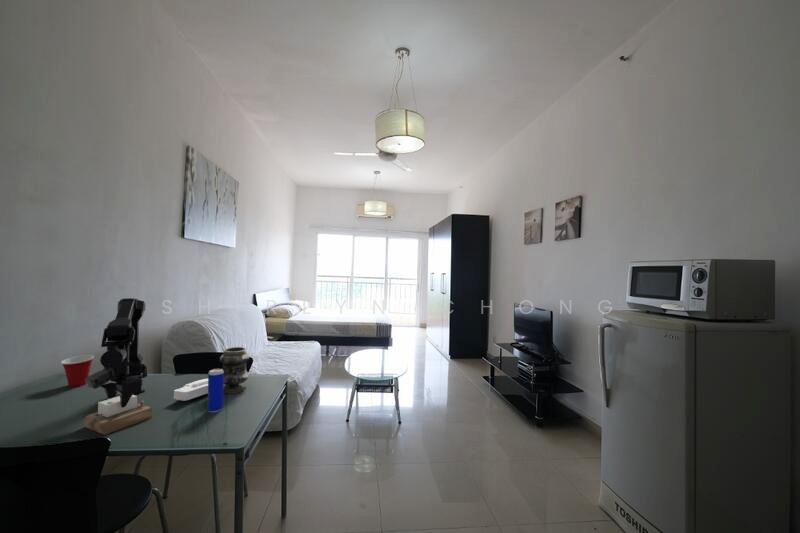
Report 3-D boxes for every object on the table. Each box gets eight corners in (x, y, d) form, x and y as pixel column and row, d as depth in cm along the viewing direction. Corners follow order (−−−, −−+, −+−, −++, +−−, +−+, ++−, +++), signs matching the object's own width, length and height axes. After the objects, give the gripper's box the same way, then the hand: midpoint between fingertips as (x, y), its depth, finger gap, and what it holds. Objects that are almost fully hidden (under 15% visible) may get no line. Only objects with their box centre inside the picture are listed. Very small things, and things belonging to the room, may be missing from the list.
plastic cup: (53, 387, 148) (54, 360, 148) (82, 379, 159) (83, 354, 159) (71, 390, 145) (71, 362, 145) (99, 382, 156) (100, 356, 156)
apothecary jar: (245, 393, 146) (246, 351, 146) (215, 395, 143) (215, 352, 143) (251, 384, 158) (251, 345, 158) (222, 385, 155) (223, 346, 155)
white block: (97, 413, 116) (98, 401, 116) (128, 404, 124) (128, 392, 124) (106, 417, 113) (107, 404, 113) (137, 407, 122) (137, 395, 122)
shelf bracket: (211, 383, 160) (233, 386, 156) (160, 399, 136) (184, 403, 133) (212, 371, 160) (234, 374, 157) (161, 385, 137) (185, 389, 133)
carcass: (84, 426, 114) (85, 410, 114) (132, 411, 127) (132, 396, 127) (104, 434, 109) (104, 418, 109) (151, 417, 122) (152, 402, 122)
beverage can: (211, 407, 131) (212, 368, 131) (225, 407, 132) (226, 368, 132) (204, 413, 126) (205, 372, 126) (219, 412, 127) (220, 372, 127)
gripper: (74, 362, 115) (73, 408, 115) (105, 370, 107) (104, 419, 107) (113, 354, 125) (112, 397, 125) (144, 361, 117) (143, 406, 117)
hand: (117, 405), depth 118 cm, fingers open, 7 cm apart
